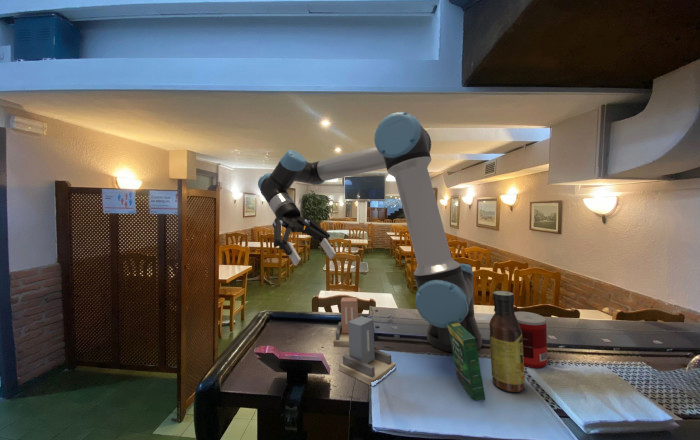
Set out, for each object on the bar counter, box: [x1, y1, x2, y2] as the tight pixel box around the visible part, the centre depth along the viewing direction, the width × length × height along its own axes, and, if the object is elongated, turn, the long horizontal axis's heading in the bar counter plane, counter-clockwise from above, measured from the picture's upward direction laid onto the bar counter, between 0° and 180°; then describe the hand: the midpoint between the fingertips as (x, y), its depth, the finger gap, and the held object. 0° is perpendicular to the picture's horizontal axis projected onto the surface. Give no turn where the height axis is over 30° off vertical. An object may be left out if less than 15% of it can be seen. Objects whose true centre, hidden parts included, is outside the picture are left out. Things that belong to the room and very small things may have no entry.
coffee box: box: [447, 322, 486, 401], centre depth 58 cm, size 8×3×13 cm, turn 2°
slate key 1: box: [348, 315, 376, 364], centre depth 68 cm, size 4×5×10 cm
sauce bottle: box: [489, 290, 526, 393], centre depth 59 cm, size 7×6×20 cm
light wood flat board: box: [333, 321, 397, 386], centre depth 76 cm, size 13×32×4 cm, turn 15°
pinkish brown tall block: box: [340, 296, 359, 333], centre depth 86 cm, size 4×5×10 cm
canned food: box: [514, 311, 548, 369], centre depth 68 cm, size 8×8×11 cm
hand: (316, 259), depth 80 cm, fingers open, 13 cm apart
